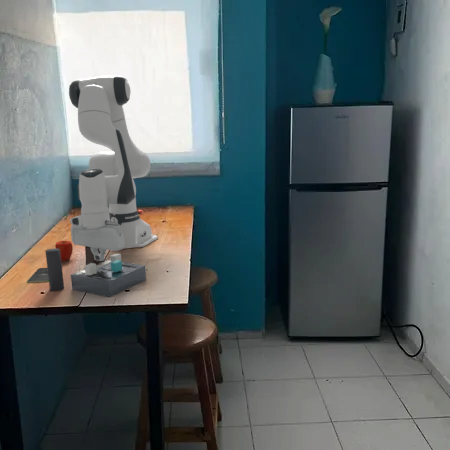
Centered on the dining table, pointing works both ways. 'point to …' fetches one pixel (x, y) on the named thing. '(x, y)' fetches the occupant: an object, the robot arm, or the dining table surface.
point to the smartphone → (39, 276)
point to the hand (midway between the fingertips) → (99, 260)
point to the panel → (108, 279)
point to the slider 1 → (90, 269)
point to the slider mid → (116, 266)
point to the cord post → (54, 269)
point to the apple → (64, 249)
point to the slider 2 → (115, 257)
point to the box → (91, 256)
